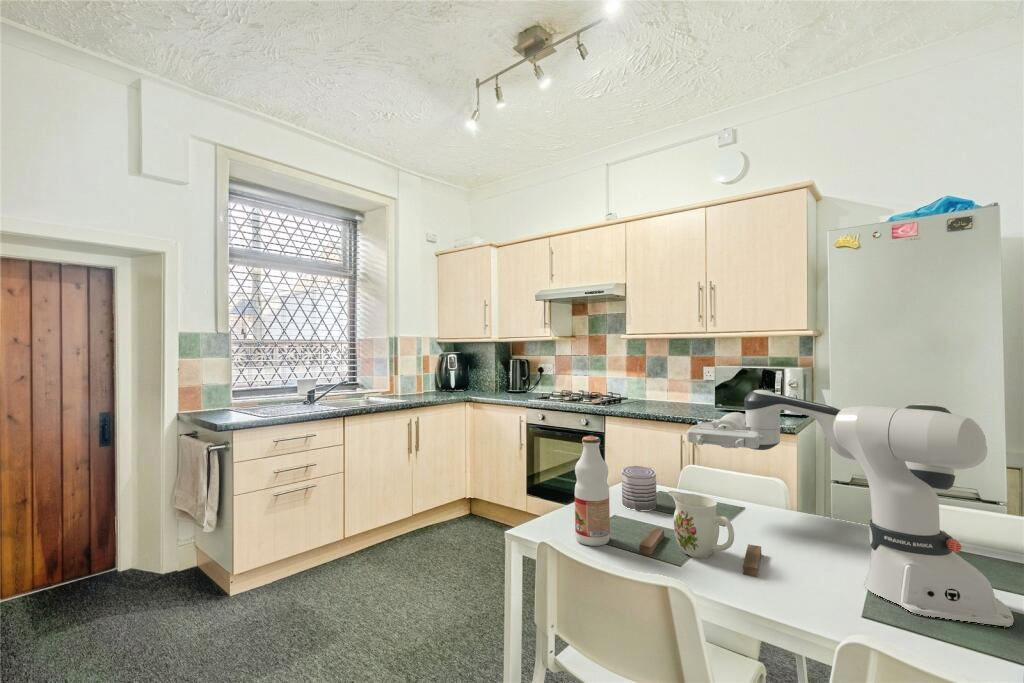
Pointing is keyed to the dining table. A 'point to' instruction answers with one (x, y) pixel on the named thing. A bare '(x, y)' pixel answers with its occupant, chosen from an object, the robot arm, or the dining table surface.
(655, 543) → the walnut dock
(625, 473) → the can
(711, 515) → the pitcher
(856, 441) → the robot arm
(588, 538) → the fruit juice
